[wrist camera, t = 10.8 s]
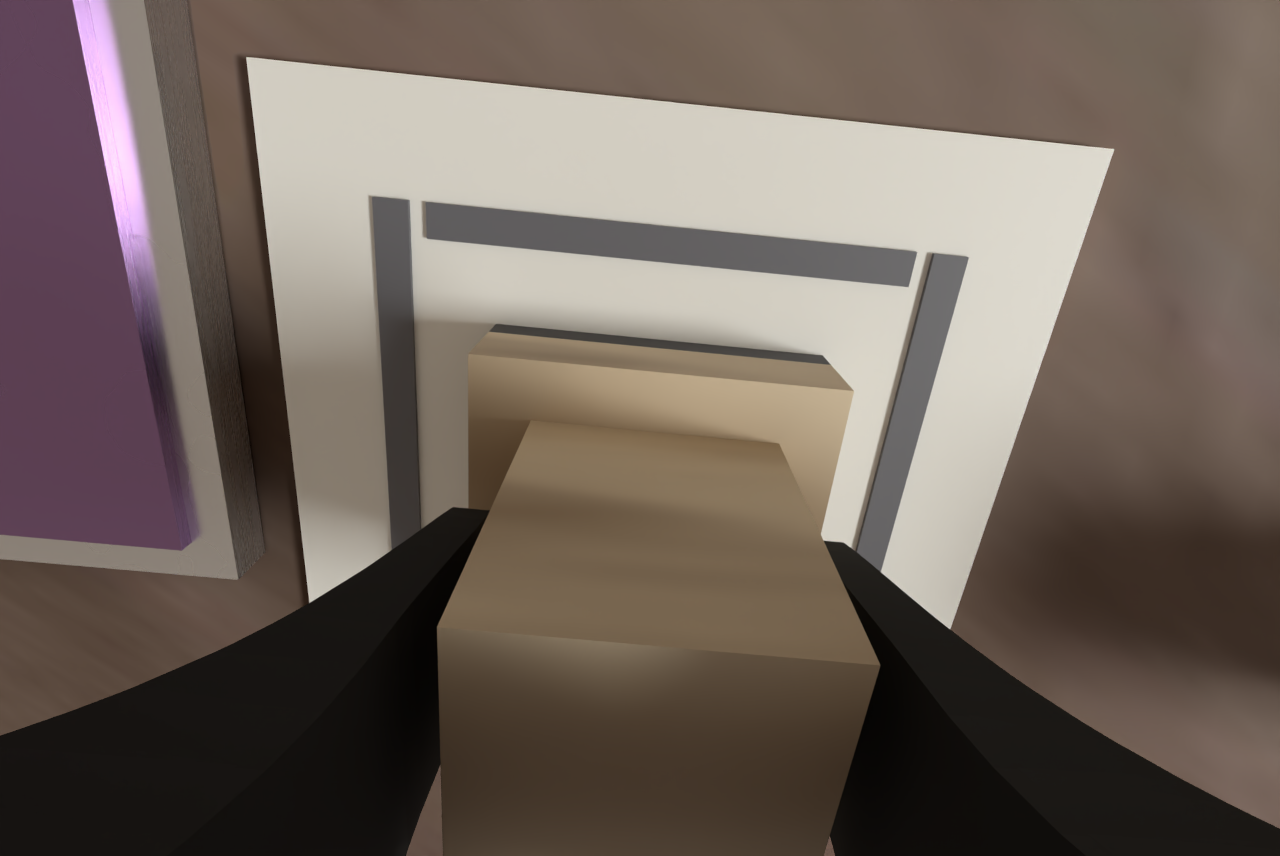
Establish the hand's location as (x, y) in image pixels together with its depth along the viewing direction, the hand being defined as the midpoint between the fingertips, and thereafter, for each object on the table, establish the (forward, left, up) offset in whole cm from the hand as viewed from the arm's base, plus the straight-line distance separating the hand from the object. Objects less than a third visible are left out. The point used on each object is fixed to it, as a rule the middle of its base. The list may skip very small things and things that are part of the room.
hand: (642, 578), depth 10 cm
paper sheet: (0, 0, -3) cm, 3 cm away
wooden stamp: (0, 0, -3) cm, 3 cm away
